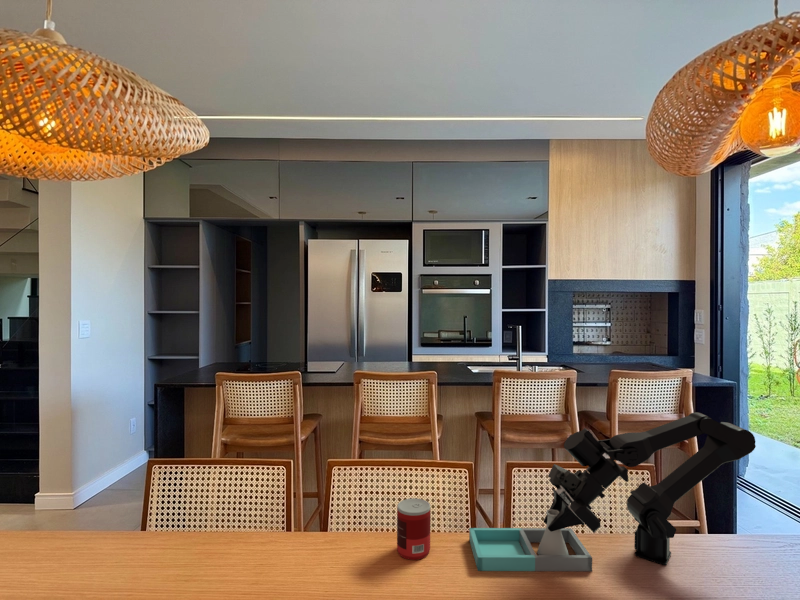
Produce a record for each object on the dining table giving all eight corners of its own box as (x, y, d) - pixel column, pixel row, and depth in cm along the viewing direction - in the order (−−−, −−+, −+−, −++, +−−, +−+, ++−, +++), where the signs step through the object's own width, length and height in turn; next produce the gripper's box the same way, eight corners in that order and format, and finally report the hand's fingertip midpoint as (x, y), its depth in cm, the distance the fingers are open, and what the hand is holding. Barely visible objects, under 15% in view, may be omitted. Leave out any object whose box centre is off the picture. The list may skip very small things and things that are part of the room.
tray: (571, 540, 118) (571, 528, 118) (592, 571, 105) (592, 557, 105) (469, 540, 118) (469, 527, 118) (477, 570, 105) (478, 557, 105)
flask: (565, 547, 115) (565, 506, 115) (572, 564, 108) (573, 520, 108) (534, 545, 116) (534, 504, 116) (539, 562, 109) (540, 518, 109)
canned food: (436, 548, 115) (436, 502, 114) (419, 564, 108) (419, 516, 108) (408, 539, 119) (408, 495, 118) (390, 554, 112) (390, 507, 112)
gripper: (557, 442, 121) (513, 485, 121) (586, 470, 102) (533, 521, 102) (588, 473, 121) (544, 516, 121) (623, 507, 102) (570, 558, 103)
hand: (547, 526), depth 112 cm, fingers closed on flask, 3 cm apart
